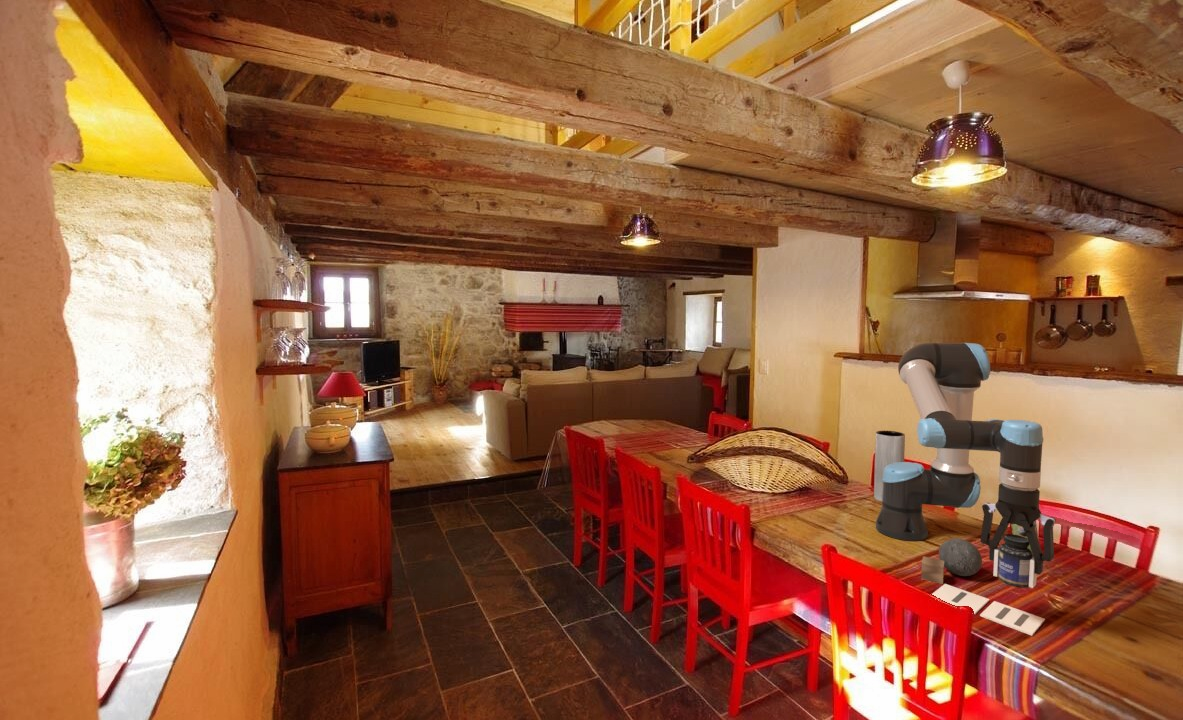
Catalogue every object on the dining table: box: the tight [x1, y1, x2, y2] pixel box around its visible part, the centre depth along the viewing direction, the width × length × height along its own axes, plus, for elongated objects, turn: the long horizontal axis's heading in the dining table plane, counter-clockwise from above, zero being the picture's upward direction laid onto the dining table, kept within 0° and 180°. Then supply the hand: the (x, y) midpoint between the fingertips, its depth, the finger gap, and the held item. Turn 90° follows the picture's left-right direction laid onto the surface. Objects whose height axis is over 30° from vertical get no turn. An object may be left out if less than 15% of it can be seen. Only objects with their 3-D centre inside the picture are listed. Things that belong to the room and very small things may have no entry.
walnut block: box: [920, 555, 945, 585], centre depth 144 cm, size 5×5×5 cm
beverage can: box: [1010, 520, 1040, 556], centre depth 159 cm, size 6×7×12 cm
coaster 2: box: [979, 600, 1046, 637], centre depth 125 cm, size 10×10×1 cm
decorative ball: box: [938, 538, 983, 577], centre depth 147 cm, size 10×10×10 cm
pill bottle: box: [997, 533, 1033, 589], centre depth 124 cm, size 6×6×11 cm
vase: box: [873, 430, 906, 503], centre depth 206 cm, size 10×10×27 cm
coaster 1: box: [931, 583, 990, 615], centre depth 134 cm, size 10×10×1 cm
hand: (1014, 579), depth 124 cm, fingers closed on pill bottle, 6 cm apart
